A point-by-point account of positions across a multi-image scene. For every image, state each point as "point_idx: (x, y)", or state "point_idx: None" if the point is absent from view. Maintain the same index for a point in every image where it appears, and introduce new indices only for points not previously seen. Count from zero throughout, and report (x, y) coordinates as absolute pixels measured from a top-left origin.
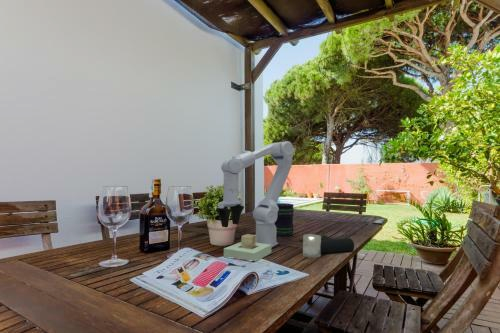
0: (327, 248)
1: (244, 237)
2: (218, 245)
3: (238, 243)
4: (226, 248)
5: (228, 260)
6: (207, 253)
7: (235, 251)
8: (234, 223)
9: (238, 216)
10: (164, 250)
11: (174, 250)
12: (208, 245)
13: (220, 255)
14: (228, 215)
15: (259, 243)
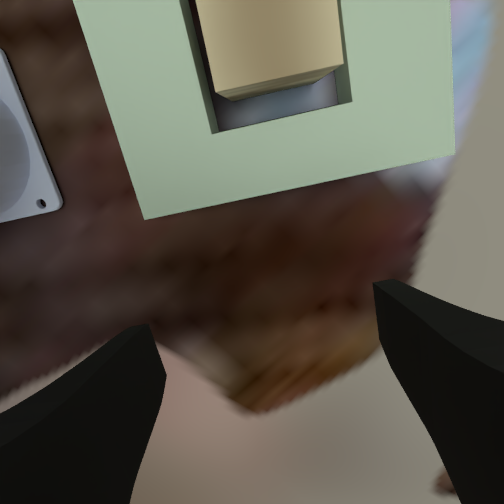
0: None
1: (336, 19)
2: (222, 370)
3: (240, 186)
4: (440, 139)
5: (473, 62)
6: None
7: (446, 31)
8: (157, 361)
9: (97, 379)
10: None
11: None
12: (265, 407)
13: (401, 196)
14: (498, 335)
15: (100, 41)
